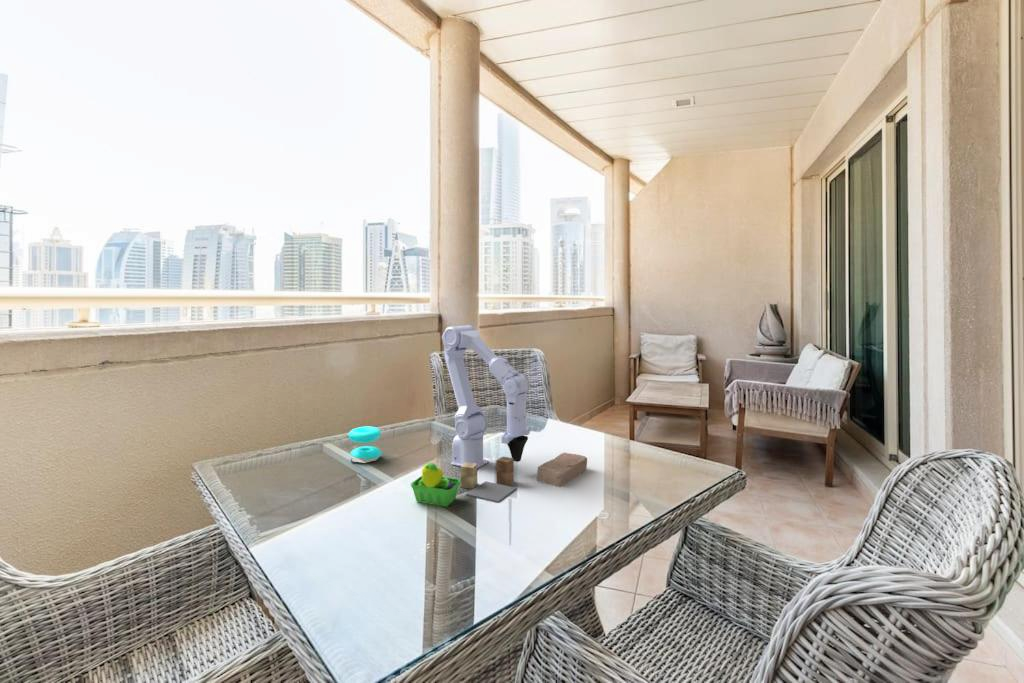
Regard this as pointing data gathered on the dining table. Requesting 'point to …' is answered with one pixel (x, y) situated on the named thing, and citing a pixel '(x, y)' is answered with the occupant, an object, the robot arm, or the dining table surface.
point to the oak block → (468, 475)
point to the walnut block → (505, 471)
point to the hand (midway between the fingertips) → (516, 460)
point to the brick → (561, 469)
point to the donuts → (365, 436)
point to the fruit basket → (435, 486)
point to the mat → (491, 491)
